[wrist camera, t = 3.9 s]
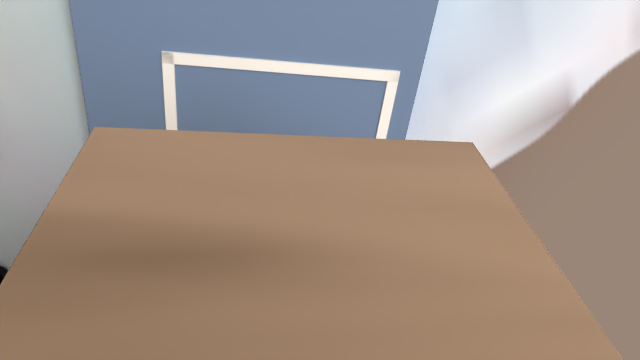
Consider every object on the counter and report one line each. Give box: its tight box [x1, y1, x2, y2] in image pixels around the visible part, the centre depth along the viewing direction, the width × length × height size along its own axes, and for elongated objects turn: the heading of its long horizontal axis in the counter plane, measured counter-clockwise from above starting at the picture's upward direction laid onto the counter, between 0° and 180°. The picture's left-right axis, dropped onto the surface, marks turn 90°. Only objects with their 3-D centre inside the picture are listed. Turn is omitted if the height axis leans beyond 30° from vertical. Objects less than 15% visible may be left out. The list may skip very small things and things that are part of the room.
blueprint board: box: [69, 0, 439, 140], centre depth 19 cm, size 18×12×1 cm, turn 173°
